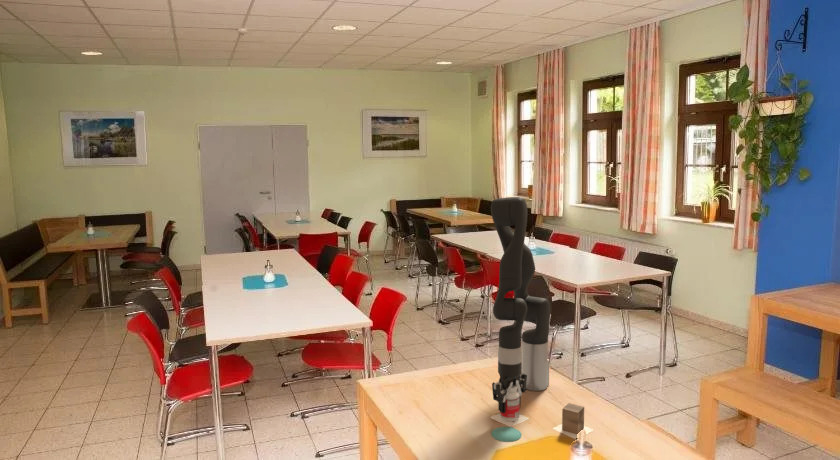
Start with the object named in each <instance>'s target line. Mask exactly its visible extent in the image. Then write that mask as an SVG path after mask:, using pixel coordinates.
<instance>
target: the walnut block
mask: <svg viewBox="0 0 840 460" xmlns="http://www.w3.org/2000/svg"><path fill="white" fill-rule="evenodd" d="M561 413H562V417H561V424H562V430H563V431H567V432H570V433H574V434H578V433H579V432H580V431H581V430H583V429H584V426H585V406H582V405H579V404H575V403H570V402H568V403H567V404H566V405H565V406H563V407H562V412H561Z"/></svg>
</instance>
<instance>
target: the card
mask: <svg viewBox="0 0 840 460" xmlns="http://www.w3.org/2000/svg"><path fill="white" fill-rule="evenodd" d="M552 430H554V431H556V432H557V433H558V432H559V433H560V434H563V435H565V436H568V437H569V438H572V439H573V440H577V439H576V438H577V434H574V433H570V432H567V431H563V430H562V423H560V424H558V425H556V426H555V427H552ZM583 430H585V431H586V435H587V434H589V433H592V432H593V431H594V429H593V428H591V427H589V426H586V425H584V429H583Z"/></svg>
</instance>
